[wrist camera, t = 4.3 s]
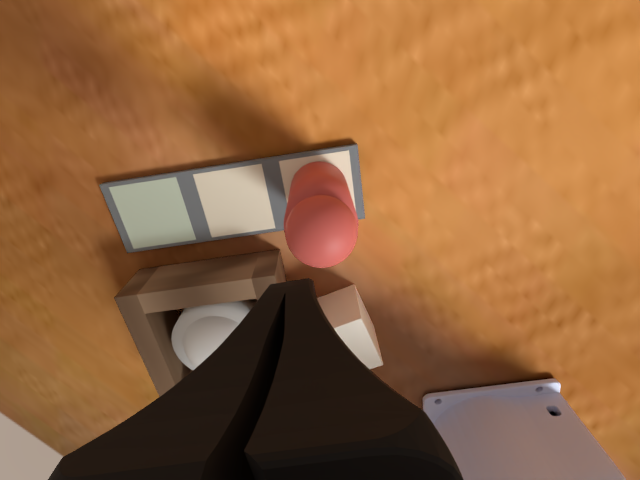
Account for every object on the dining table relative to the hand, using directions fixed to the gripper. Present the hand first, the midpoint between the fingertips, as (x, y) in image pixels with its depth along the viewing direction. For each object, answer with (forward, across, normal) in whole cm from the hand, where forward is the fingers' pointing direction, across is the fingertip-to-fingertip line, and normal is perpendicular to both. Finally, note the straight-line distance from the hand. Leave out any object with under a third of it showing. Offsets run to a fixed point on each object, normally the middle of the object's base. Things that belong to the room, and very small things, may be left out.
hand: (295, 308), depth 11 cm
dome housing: (+9, +6, +6) cm, 13 cm away
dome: (+10, +6, +6) cm, 14 cm away
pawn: (+9, -1, -1) cm, 9 cm away
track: (+10, +4, -1) cm, 10 cm away
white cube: (+10, -1, +8) cm, 12 cm away
